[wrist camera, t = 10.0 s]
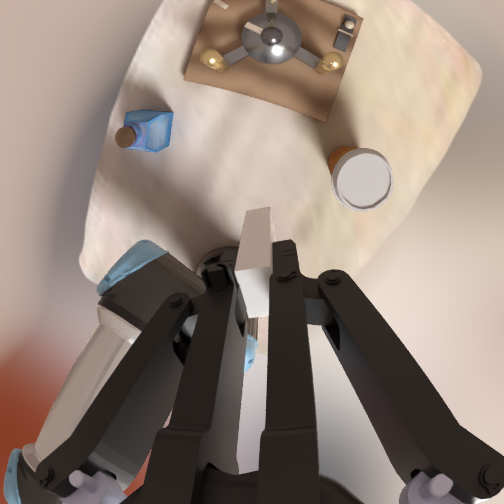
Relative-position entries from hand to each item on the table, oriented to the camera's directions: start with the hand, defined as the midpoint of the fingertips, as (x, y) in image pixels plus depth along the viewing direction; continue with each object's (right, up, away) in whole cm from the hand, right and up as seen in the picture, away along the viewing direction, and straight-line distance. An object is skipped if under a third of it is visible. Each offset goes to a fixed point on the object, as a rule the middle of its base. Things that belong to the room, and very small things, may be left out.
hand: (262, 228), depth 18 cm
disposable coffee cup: (+16, +14, +29) cm, 36 cm away
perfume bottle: (-18, +21, +27) cm, 38 cm away
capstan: (+4, +30, +17) cm, 35 cm away
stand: (+2, +32, +18) cm, 37 cm away
